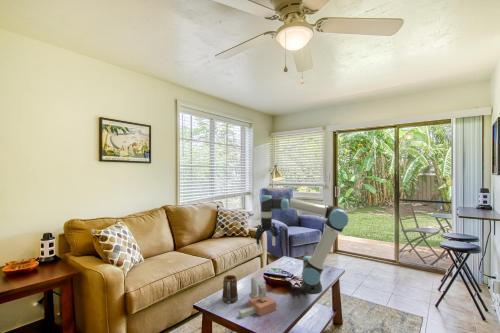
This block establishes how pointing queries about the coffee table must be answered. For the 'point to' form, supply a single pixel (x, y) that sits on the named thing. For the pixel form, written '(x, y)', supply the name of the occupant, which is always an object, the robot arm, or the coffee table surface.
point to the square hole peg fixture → (257, 303)
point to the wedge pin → (262, 293)
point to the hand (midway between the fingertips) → (266, 247)
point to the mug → (230, 289)
